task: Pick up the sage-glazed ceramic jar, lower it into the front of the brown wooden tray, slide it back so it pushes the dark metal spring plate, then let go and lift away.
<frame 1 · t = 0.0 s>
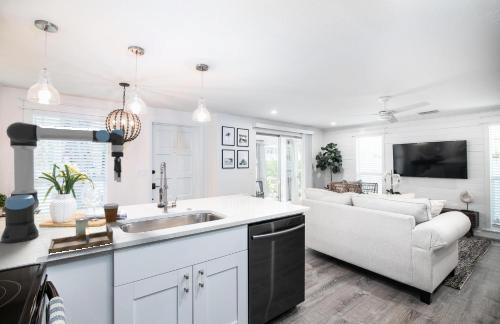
hand: (117, 181, 173), 28 cm above the worktop, tool pointing down, fingers open, 13 cm apart
disposable coffee cup: (111, 221, 170), on the worktop
jar: (82, 236, 139), on the worktop
brown wooden tray: (82, 244, 126), on the worktop
pusher: (87, 236, 127), point 4 cm above the worktop, slide at 0.0 cm
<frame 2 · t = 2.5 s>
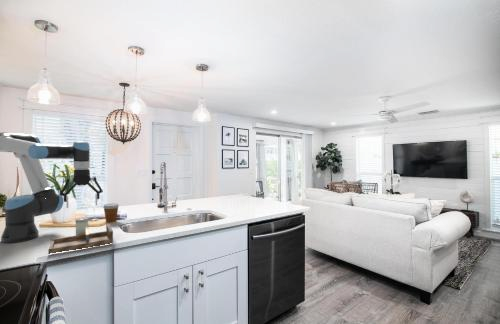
hand: (82, 206, 139), 17 cm above the worktop, tool pointing down, fingers open, 13 cm apart
nothing on the worktop moved.
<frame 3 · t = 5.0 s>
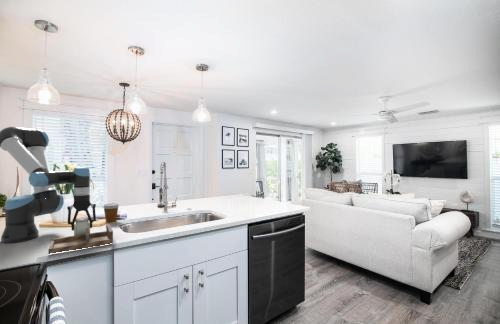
hand: (82, 234, 139), 1 cm above the worktop, tool pointing down, fingers closed on jar, 6 cm apart
jar: (82, 236, 139), on the worktop, touching gripper
everything else where it was.
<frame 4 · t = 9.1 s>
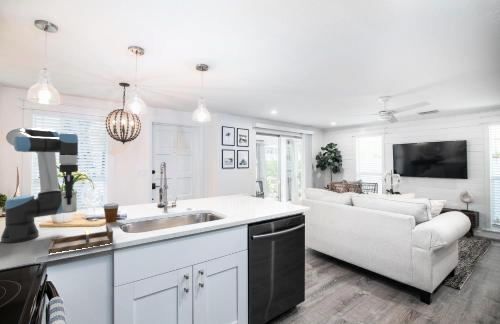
hand: (69, 209, 123), 19 cm above the worktop, tool pointing down, fingers closed on jar, 6 cm apart
jar: (69, 211, 123), point 18 cm above the worktop, touching gripper
everything else where it was.
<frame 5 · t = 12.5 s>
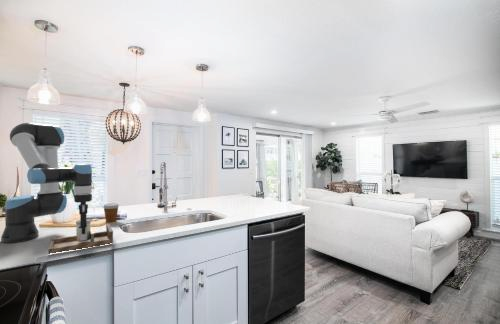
hand: (83, 238, 126), 3 cm above the worktop, tool pointing down, fingers closed on jar, 6 cm apart
jar: (83, 239, 126), point 2 cm above the worktop, touching gripper
pusher: (91, 235, 128), point 4 cm above the worktop, slide at 2.1 cm
everything else where it was.
when the fingers open (3 cm above the worktop, at t = 13.4 s): jar drops 1 cm, resting on brown wooden tray, pusher.
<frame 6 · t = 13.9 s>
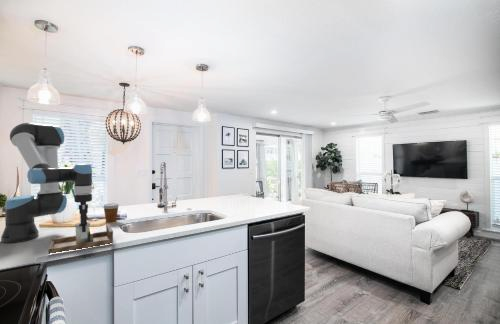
hand: (83, 234, 126), 5 cm above the worktop, tool pointing down, fingers open, 13 cm apart
jar: (82, 242, 126), point 1 cm above the worktop, touching brown wooden tray, pusher
pusher: (91, 235, 128), point 4 cm above the worktop, slide at 1.7 cm, touching jar
everything else where it was.
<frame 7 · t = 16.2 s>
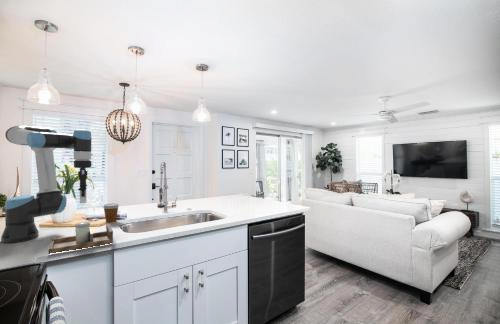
hand: (82, 201, 126), 23 cm above the worktop, tool pointing down, fingers open, 13 cm apart
nothing on the worktop moved.
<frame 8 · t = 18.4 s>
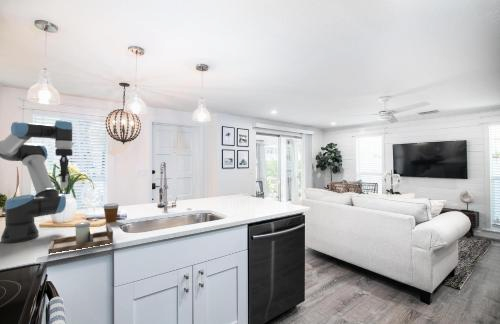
hand: (64, 186, 136), 29 cm above the worktop, tool pointing down, fingers open, 13 cm apart
nothing on the worktop moved.
at the end: jar inside the target area on the brown wooden tray (1.9 cm from its centre), point 1.0 cm above the brown wooden tray's base; jar tilted 0°; pusher slide at 1.7 cm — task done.
